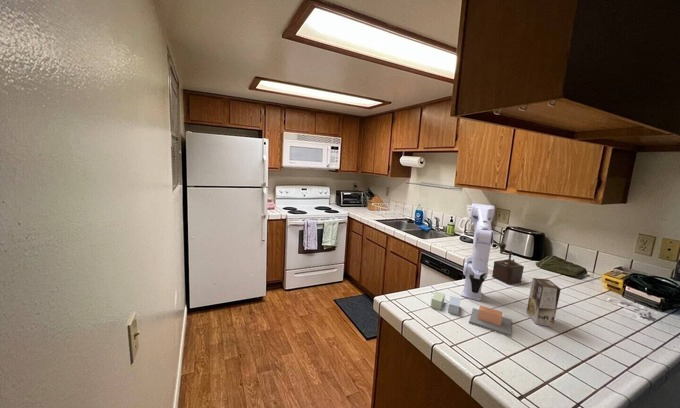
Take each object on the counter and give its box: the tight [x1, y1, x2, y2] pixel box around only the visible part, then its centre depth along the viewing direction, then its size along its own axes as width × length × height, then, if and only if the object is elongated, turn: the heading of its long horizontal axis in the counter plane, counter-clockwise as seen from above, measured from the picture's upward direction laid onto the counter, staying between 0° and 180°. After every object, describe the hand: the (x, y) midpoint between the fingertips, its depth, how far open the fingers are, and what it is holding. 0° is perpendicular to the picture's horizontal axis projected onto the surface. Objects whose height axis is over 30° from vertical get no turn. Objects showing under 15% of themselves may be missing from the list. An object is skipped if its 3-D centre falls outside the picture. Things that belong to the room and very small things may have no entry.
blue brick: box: [447, 295, 461, 316], centre depth 119 cm, size 8×4×4 cm, turn 155°
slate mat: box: [468, 307, 512, 337], centre depth 111 cm, size 12×14×1 cm
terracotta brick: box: [478, 305, 503, 326], centre depth 111 cm, size 8×4×4 cm, turn 59°
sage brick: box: [430, 291, 446, 311], centre depth 122 cm, size 8×4×4 cm, turn 150°
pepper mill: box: [491, 242, 525, 286], centre depth 155 cm, size 16×11×18 cm
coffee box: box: [526, 277, 562, 328], centre depth 114 cm, size 9×6×16 cm
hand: (475, 289), depth 118 cm, fingers open, 7 cm apart
